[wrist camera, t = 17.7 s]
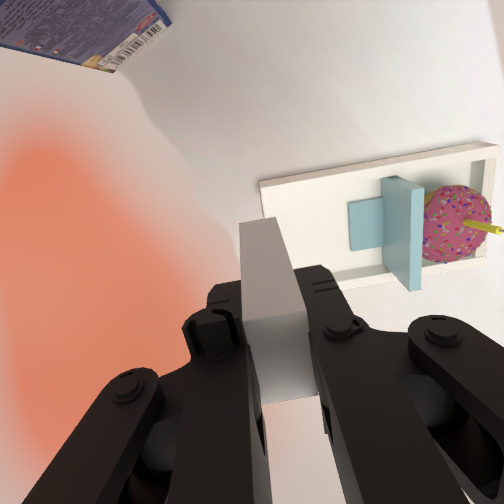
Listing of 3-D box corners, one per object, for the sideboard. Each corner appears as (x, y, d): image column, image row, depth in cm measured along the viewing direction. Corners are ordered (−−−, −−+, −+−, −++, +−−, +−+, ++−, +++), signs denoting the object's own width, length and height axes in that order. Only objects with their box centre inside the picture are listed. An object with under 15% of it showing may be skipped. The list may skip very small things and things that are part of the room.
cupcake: (399, 174, 38) (466, 203, 27) (472, 177, 39) (565, 207, 28) (384, 245, 42) (438, 296, 31) (450, 247, 42) (527, 297, 31)
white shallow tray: (258, 181, 39) (260, 188, 36) (479, 141, 38) (499, 145, 35) (275, 287, 44) (278, 300, 41) (468, 254, 44) (485, 265, 41)
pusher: (346, 181, 38) (369, 197, 32) (391, 173, 38) (424, 187, 32) (351, 267, 43) (372, 297, 36) (391, 260, 43) (420, 289, 36)
